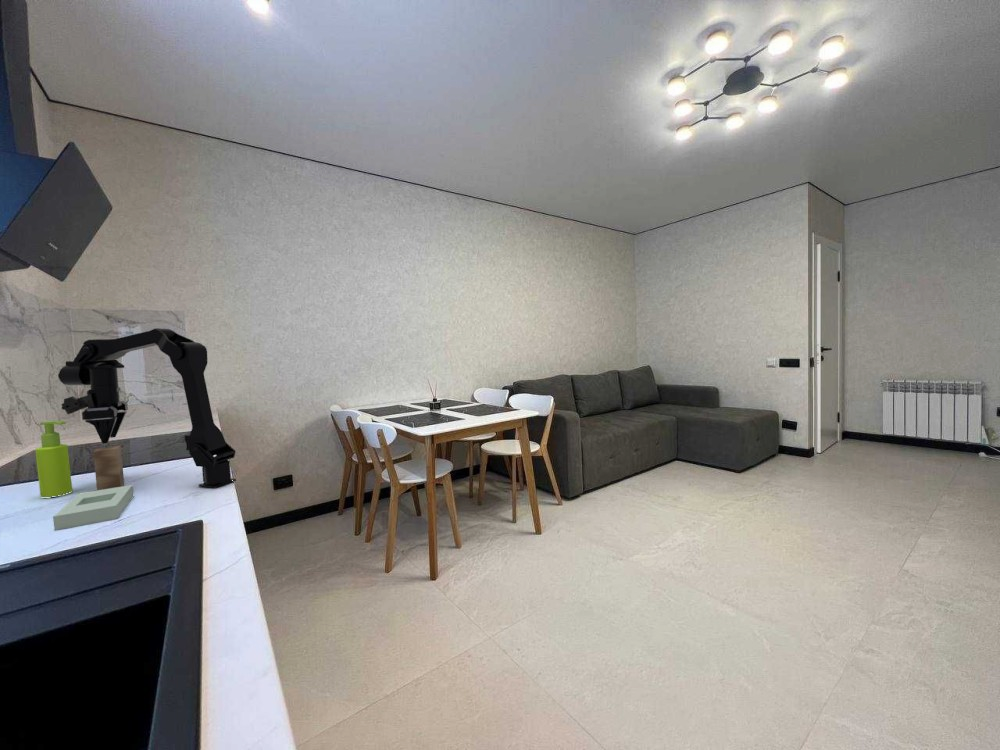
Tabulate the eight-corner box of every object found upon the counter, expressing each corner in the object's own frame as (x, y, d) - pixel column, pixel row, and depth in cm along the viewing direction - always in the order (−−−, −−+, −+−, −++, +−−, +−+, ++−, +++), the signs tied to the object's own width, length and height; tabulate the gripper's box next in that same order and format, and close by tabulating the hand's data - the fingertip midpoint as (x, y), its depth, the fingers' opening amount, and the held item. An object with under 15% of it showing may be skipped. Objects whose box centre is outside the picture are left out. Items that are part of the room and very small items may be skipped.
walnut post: (125, 491, 114) (120, 445, 113) (121, 495, 110) (116, 448, 109) (102, 494, 111) (97, 448, 110) (98, 499, 108) (93, 451, 107)
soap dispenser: (59, 498, 110) (51, 422, 108) (34, 499, 110) (25, 423, 108) (82, 490, 115) (74, 418, 114) (58, 491, 116) (50, 419, 114)
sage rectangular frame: (80, 505, 104) (79, 493, 103) (133, 496, 109) (132, 484, 109) (54, 530, 88) (53, 516, 88) (117, 518, 94) (116, 505, 94)
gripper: (74, 384, 120) (79, 438, 121) (51, 389, 104) (57, 451, 106) (126, 382, 126) (130, 433, 127) (111, 386, 111) (116, 444, 112)
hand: (109, 440), depth 118 cm, fingers open, 9 cm apart
